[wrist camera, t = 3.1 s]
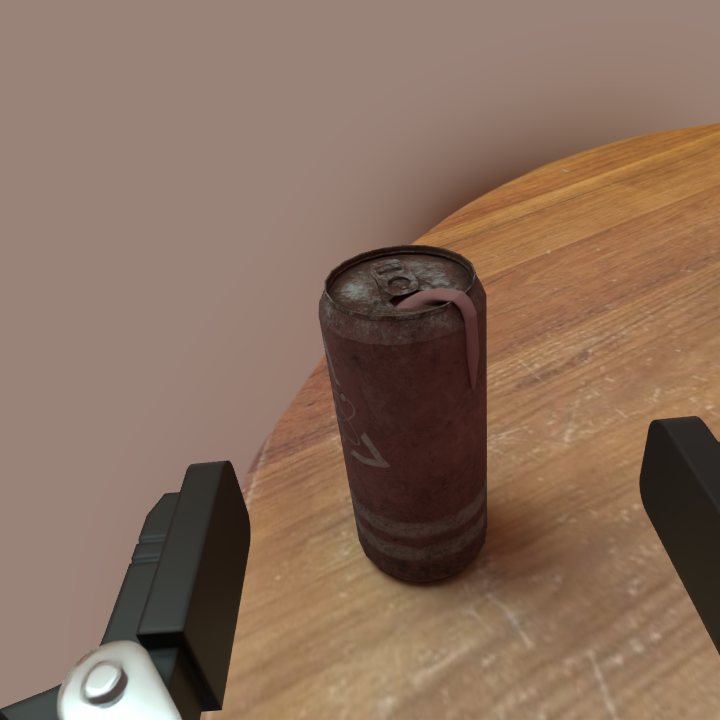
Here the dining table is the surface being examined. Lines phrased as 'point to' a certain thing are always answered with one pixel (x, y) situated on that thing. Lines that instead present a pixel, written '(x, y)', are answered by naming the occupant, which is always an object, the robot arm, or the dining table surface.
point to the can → (411, 404)
